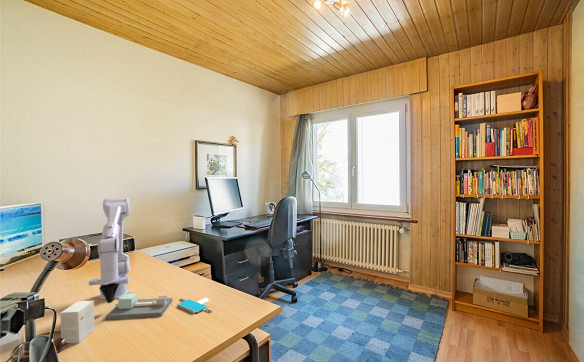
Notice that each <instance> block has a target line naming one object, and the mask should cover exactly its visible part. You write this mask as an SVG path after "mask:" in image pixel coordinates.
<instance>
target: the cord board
mask: <svg viewBox="0 0 584 362" xmlns="http://www.w3.org/2000/svg"><path fill="white" fill-rule="evenodd" d="M156 299H157V298H142V299H139V298H138V299H137V303H141V302H153V301H156ZM172 302H173V297H167V304H166V305H165V306H164V307H157V305H155V306H137V307H133V308H130V309H119V308H115V307H114V308H112V309H111V310H110V311H109V312H108V313H107V314H105V320H119V319H120V320H121V319H134V318H136V319H137V318H152V317H153V318H154V317H155V318H156V317H162V316H163V315H164V313H165V312H166V310H167V309H168V308H169V306H170V305H171V304H172Z"/></svg>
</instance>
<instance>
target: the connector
mask: <svg viewBox="0 0 584 362" xmlns="http://www.w3.org/2000/svg"><path fill="white" fill-rule="evenodd" d="M167 298H168V295H159V296H158V297H157V298H155V299H156V305H157V307H164V306H165V302H166V304H167Z"/></svg>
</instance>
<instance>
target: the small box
mask: <svg viewBox="0 0 584 362" xmlns="http://www.w3.org/2000/svg"><path fill="white" fill-rule="evenodd" d="M59 317H60V318H59V319H60V339H61V338H64V339H65V341H66V342H67V343H73V344H80V343H81V342H82V341H83V340H85V338H87V337H88V335H90V334H91V333H92V332H93V331H94V330H95V328H96V327H95V326H96V324H95V300H77V301H75V302H74V303H72V304H71V305H70V306H69V307H67V308H65V309H64V310H63V311H61V312H60V314H59Z"/></svg>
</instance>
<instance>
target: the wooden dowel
mask: <svg viewBox="0 0 584 362" xmlns="http://www.w3.org/2000/svg"><path fill="white" fill-rule="evenodd" d="M114 305H115V307H114V308H119V306H118V303H116V304H114ZM155 305H156V301H153V302H141V303H133V307H137V306H155ZM165 305H166V302H165Z"/></svg>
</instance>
